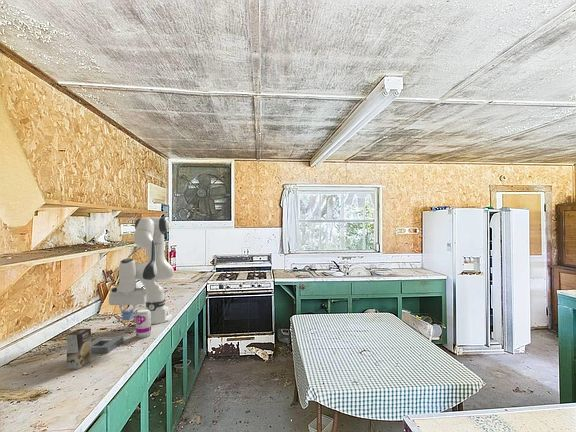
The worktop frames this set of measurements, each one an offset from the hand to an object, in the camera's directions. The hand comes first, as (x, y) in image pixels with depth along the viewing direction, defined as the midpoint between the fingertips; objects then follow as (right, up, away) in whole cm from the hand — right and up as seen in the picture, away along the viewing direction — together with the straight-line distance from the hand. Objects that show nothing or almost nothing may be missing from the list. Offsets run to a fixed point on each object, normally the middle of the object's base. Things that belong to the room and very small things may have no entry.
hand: (128, 312), depth 190 cm
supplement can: (+4, -18, +12) cm, 21 cm away
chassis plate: (-11, -17, -6) cm, 21 cm away
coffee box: (-10, -17, -28) cm, 34 cm away
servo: (0, -4, +1) cm, 4 cm away
